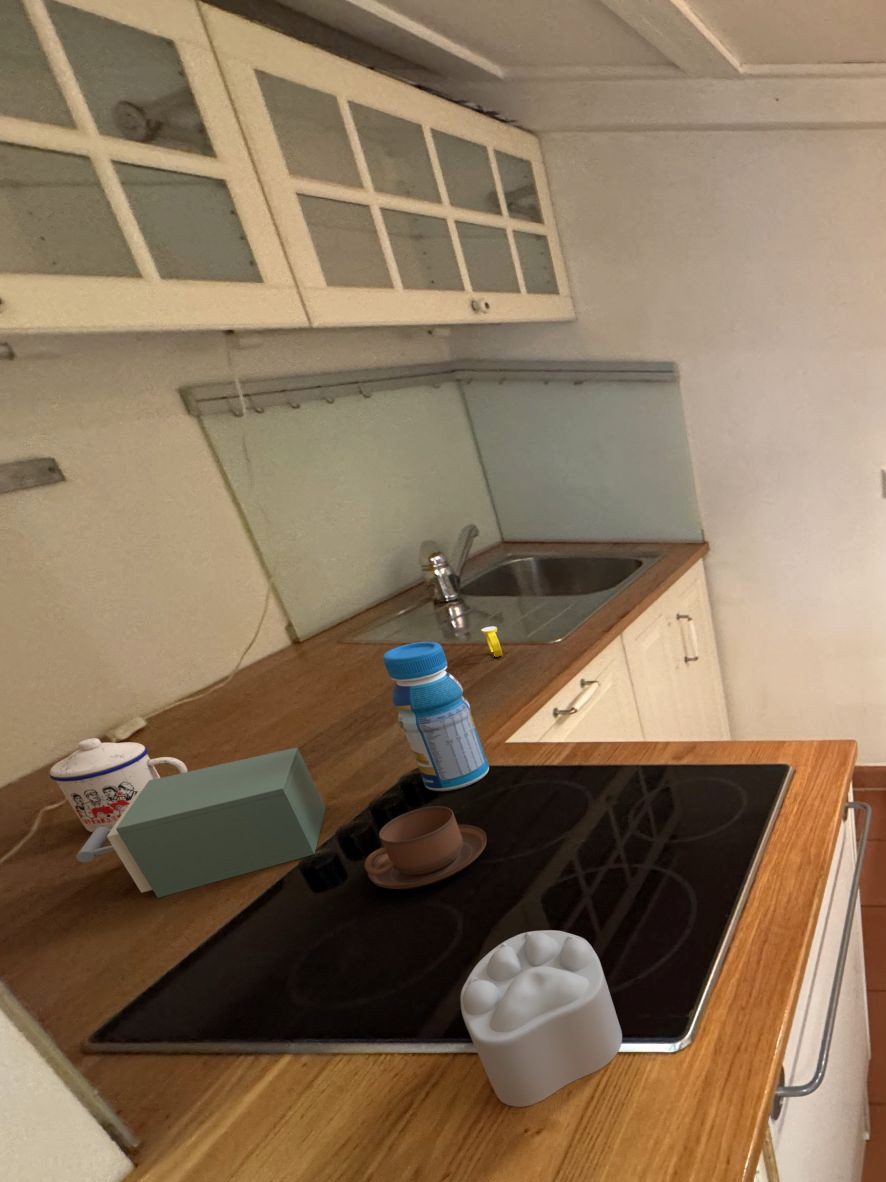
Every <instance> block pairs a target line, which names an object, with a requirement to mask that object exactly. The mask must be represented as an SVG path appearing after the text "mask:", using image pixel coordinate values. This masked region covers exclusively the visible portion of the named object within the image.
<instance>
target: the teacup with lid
mask: <svg viewBox="0 0 886 1182" xmlns="http://www.w3.org/2000/svg"><path fill="white" fill-rule="evenodd" d="M77 748H78V749H76V750H75V751H73V752H72V753H71V754H69V756H67V757H65V758H63V759H61V760H60V761H58V762H56V763H55V764H53V766H52V767H51V768H50V770H49V778H50V779H51V780H53V781H55V782H56V784H57V786H58V787H59V788H60V790H61V792H62V793H63V795H64V796H65V798H66V799H67V801H68V803H69V805H70V806H71V808H72V809H73V810H74V812H75V814H76V816H77V817H78V819H79V820H80V822H81V824H82V825H83V826H84V828H85V830H87V831H88V832H90V833H93V832H94V831H95V829H97V828H99V827H108V828H109V829H111V828H113V827H114V825H115V824H116V822H117V821H118V820H119V818H120V817H121V815H122V814H123V812H124V811H125V809H126V808H127V807H128V805H129V804H130V802H131V801H132V799H133V798H134V797H135V795H136V794H137V792H139V791H142V790H143V788H144V787H145V785H146V784H147V783H148V781H149V780H153V779H158V778H161V776H160V773H158V771H157V769H156V767H155V766H157V765H170V766H174V767H175V769H177V770H178V774H180V773H185V772H189V771H188V767H187V766H186V764H185V763H184V762H183V761H182V760H180V759H178V758H175V757H171V756H162V757H161V756H160V757H157V758H152V759H151V758H150V756H149V754H148V752H149V750H148V748H147V747H146V746H144V744H141V743H139V742H133V741H128V742H127V741H125V742H124V741H123V742H102V741H101V740H100V739H99V738H96V737H93V738H92V737H91V738H87V739H83V740H81V741H79V742H78V744H77Z"/></svg>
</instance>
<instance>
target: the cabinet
mask: <svg viewBox="0 0 886 1182" xmlns="http://www.w3.org/2000/svg"><path fill="white" fill-rule="evenodd" d="M326 809H327V808H326V806H325V804H324V802H323V799H322V796H321V795H320V793H319V791H318V788H317V787H316V784H315V781H314V780H313V778H312V775H311V773H310V771H309V769H308V766H307V764H306V762H305V759H304V758H303V756H302V754H301V751H300V750H299V748H298V747H293V748H289V749H283V750H279V751H274V752H270V753H266V754H261V755H257V756H252V757H249V758H248V757H247V758H244V759H239V760H234V761H230V762H226V763H221V764H216V765H213V766H208V767H203V768H199V769H193V770H190V771H188V772H185V773H175V774H173V775H167V776H163V777H160V778H158V779H153V780H149V781H148V783H147V784H146V785H145V787H144V788H143V790H142V791H141V793H140V794H139V796H138V797H137V799H136V800H135V802H134V803H133V804H132V806H131V807H130V809H129V810H128V812H127V813H126V815H125V816H124V818H123V819H122V820H121V822H120V823H119V825H118V826H117V828H116V830H117V832H118V833H119V835H120V837H121V838H122V840H123V842H124V843H125V845H126V847H127V848H128V850H129V852H130V853H131V855H132V857H133V858H134V860H135V862H136V863H137V865H138V866H139V868H140V870H141V871H142V873H143V875H144V876H145V878H146V880H147V881H148V883H149V885H150V886H151V888H152V890H151V891H153V893H154V895H155V896H156V898H157V899H159V898H163V897H166V896H170V895H173V894H177V893H180V892H184V891H187V890H193V889H195V888H197V887H202V886H207V885H209V884H213V883H216V882H220V881H224V880H227V879H228V880H229V879H231V878H235V877H239V876H241V875H245V874H249V873H252V872H256V871H259V870H263V869H267V868H271V867H274V866H277V865H282V864H285V863H288V862H292V861H295V860H299V859H303V858H307V857H310V856H313V855H315V854H316V850H317V846H318V843H319V842H318V841H319V837H320V834H321V829H322V825H323V821H324V817H325V813H326Z"/></svg>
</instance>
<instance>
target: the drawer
mask: <svg viewBox="0 0 886 1182" xmlns="http://www.w3.org/2000/svg"><path fill="white" fill-rule="evenodd" d="M140 793H141V791H139V792H137V794H136V795H135V797H134V798H133V799H132V801H131V802H130V804H129V805H128V807H127V808H126V809H125V811H124V812H123V814H122V815H121V817H120V818H119V820H118V821H117V822H116V824H115V825H114V827H113V828H111V829H109V828H108V827H99V828H97V829H95V831H94V832H91V833H92V834H91V835H90V836H89V837H88V839H87V840H86V842H85V843H84V844H83V846H82V847H81V848H80V850H79V851H78V853H77V854H76V855H75V859H76V860H77V861H78V862H80V863H91V862H92V861H94V859H95V858H96V857H98V856H102V855H105V854H110V853H113V852H115V853H116V855H117V856H118V858H119V859H120V861H121V862H122V864H123V866H124V868H125V869H126V871H127V872H128V874H129V875H130V877H131V879H132V880H133V882H134V883H135V885H136V887H137V888H138V890H139V891H140V893H141V894H142V893H145V892H149V891H153V890H152V888H151V886H150V885H149V883H148V881H147V880H146V878H145V876H144V875H143V873H142V871H141V870H140V868H139V866H138V865H137V863H136V862H135V860H134V858H133V857H132V855H131V853H130V852H129V850H128V848H127V847H126V845H125V843H124V842H123V840H122V838H121V837H120V835H119V833H118V832H117V830H116V828H117V826H118V825H119V823H120V822H121V820H122V819H123V818H124V816H125V815H126V813H127V812H128V810H129V809H130V807H131V806H132V804H133V803H134V802H135V800H136V799H137V797H138V796H139V794H140ZM107 841H109V843H110V844H111V845H108V846H104V845H105V844H106V842H107Z"/></svg>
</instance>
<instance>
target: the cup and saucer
mask: <svg viewBox="0 0 886 1182" xmlns="http://www.w3.org/2000/svg"><path fill="white" fill-rule="evenodd" d="M456 819H457V818H456V817H455V814H454V812H453V810H452V809H451V808H449V807H447V806H441V805H440V806H434V805H433V806H425V807H421V808H417V809H414V810H411V811H408V812H406V813H403V814H401V815H398V816H396V817H394V818H393V819H391V820H390V821H388V822H387V823H385V825H383V826H382V828H381V829H380V830H379V833H378V838H379V839H380V841H381V843H382V845H383V847H380V848H378V849H376V850H374V851H372V852H371V853H370V854H369V855H368V856H367V857H366V859H365V861H364V869H365V871H366V872H367V876H368V878H369V879H370V881H371V882H372V883H373V884H374V885H376V886H378V887H381V888H385V889H390V890H410V889H417V888H421V887H425V886H430V885H432V884H435V883H438V882H441V881H444V880H446V879H448V878H450V877H453V876H454V875H456V874H458V873H460V872H462V871H463V870H464V869H466V868H468V867H469V866H470V865H471V864H473V863H474V862H475V861H476V860H477V859H478V857H479V856H480V855H481V854H482V852H483V851H484V850H485V848H486V845H487V835H486V832H485V831H484V830H483V829H482V828H480V827H478V826H475V825H471V824H458V823H457V820H456Z"/></svg>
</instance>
